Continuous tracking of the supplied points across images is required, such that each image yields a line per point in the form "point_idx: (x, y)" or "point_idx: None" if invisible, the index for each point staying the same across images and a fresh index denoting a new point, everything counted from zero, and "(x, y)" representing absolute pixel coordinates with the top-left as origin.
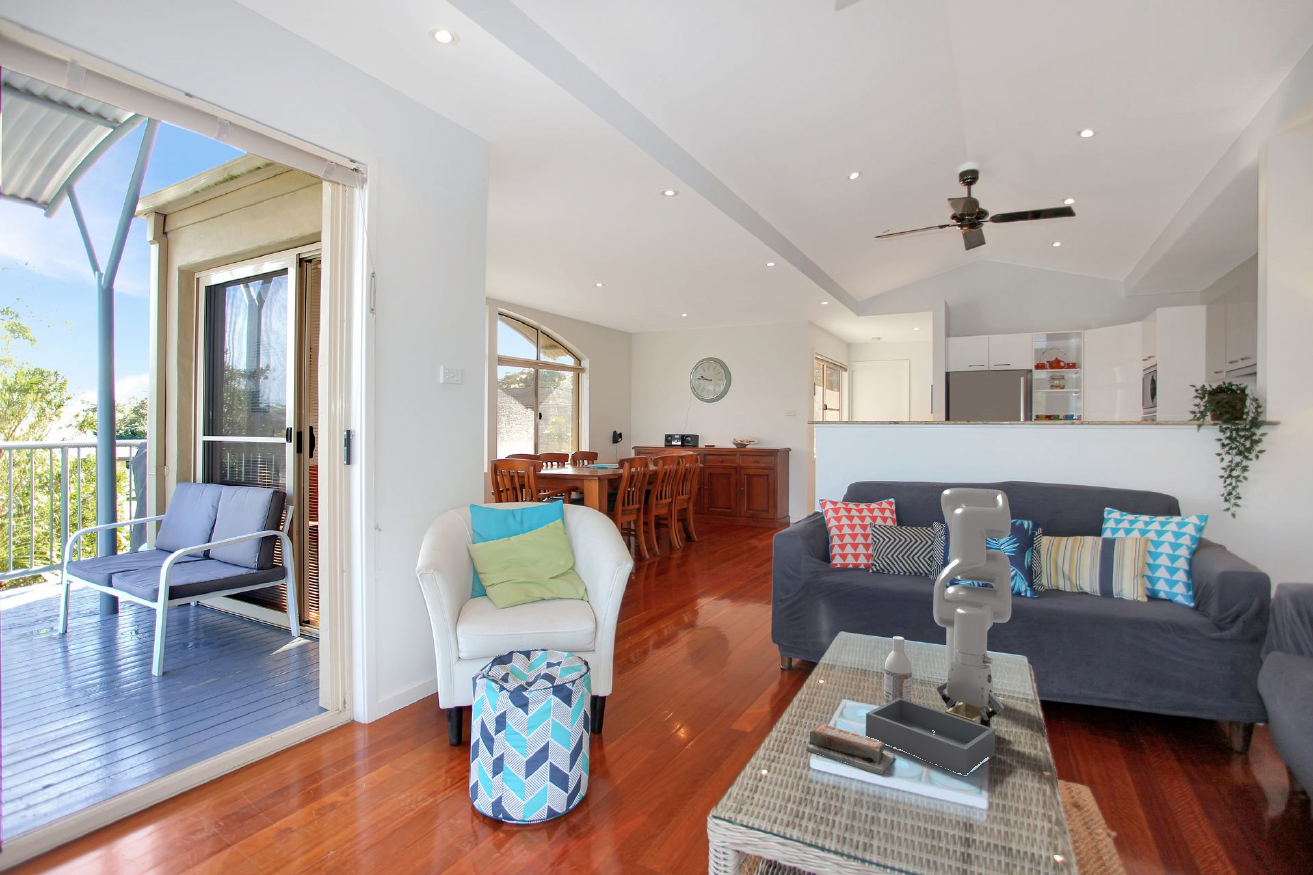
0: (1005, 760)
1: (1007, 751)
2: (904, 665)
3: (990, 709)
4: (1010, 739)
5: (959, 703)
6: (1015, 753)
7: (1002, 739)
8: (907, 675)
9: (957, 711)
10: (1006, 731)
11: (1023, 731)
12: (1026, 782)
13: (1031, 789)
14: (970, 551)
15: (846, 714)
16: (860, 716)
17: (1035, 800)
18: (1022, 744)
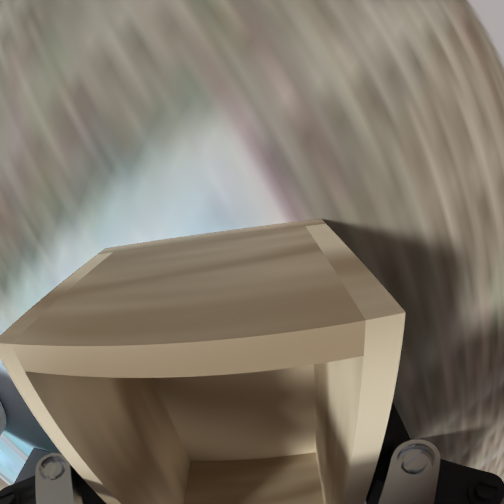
0: (455, 431)
1: (458, 375)
2: None
3: (388, 355)
4: (447, 226)
5: (65, 453)
6: (485, 359)
7: (416, 273)
8: None
9: (130, 466)
10: (378, 106)
11: (430, 17)
12: (496, 453)
13: (500, 460)
14: None
15: (3, 473)
16: (11, 470)
17: (499, 473)
18: (500, 233)
